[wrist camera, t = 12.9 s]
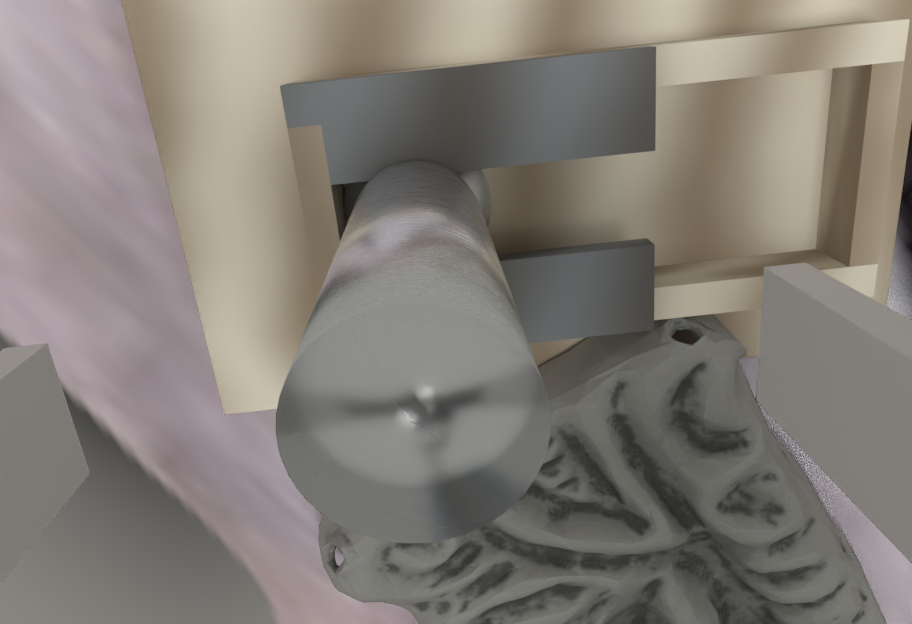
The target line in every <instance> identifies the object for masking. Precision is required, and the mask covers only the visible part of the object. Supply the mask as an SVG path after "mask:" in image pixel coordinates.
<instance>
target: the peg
mask: <svg viewBox="0 0 912 624" xmlns="http://www.w3.org/2000/svg"><path fill="white" fill-rule="evenodd" d="M344 214H345V219H346V224H347V225H346V228H345V230H344V233H343V236H342V238H341V241H340V243H339V246H338V248H337V251H336V253H335V256H334V258H333V261H332V263H331V266H330V268H329V271H328V273H327V276H326V278H325V281H324V284H323V286H322V289H321V291H320V294H319V296H318V299H317V301H316V304H315V306H314V309H313V311H312V314H311V316H310V319H309V321H308V324H307V326H306V329H305V331H304V334H303V337H302V339H301V342H300V344H299V347H298V349H297V352H296V354H295V357H294V359H293V362H292V364H291V367H290V369H289V372H288V374H287V377H286V379H285V382H284V385H283V388H282V391H281V394H280V397H279V401H278V407H277V412H276V435H277V443H278V448H279V452H280V455H281V458H282V462H283V464H284V466H285V468H286V470H287V473H288V475H289V477H290V478H291V480H292V481H293V483H294V484H295V486H296V488H297V489H298V490H299V491H300V493H301V494H302V495H303V496H304V497H305V499H306V500H307V501H308V502H309V503H310V504H311V505H313V506H314V507H315V508H316V509H317V510H318V511H319V512H320V513H322V514H323V515H325V516H326V517H327V518H329V519H330V520H332V521H333V522H335V523H337V524H339V525H341V526H342V527H344V528H346V529H348V530H351V531H353V532H356V533H358V534H361V535H363V536H367V537H370V538H374V539H378V540H383V541H389V542H395V543H429V542H436V541H442V540H447V539H451V538H455V537H458V536H462V535H464V534H467V533H469V532H472V531H475V530H477V529H479V528H481V527H483V526H485V525H486V524H488V523H490V522H492V521H493V520H495V519H496V518H498V517H499V516H501V515H502V514H504V513H505V512H506V511H507V510H508V509H509V508H511V507H512V506H513V505H514V504H515V503H516V502H517V501H518V500H519V499H520V498H521V497H522V496H523V494H524V493H525V492H526V491H527V490H528V488H529V487H530V485H531V484H532V482H533V481H534V480H535V478H536V476H537V474H538V472H539V470H540V468H541V466H542V464H543V461H544V458H545V455H546V452H547V449H548V444H549V439H550V430H551V415H550V407H549V401H548V397H547V394H546V390H545V387H544V384H543V381H542V378H541V375H540V373H539V370H538V367H537V364H536V361H535V359H534V356H533V353H532V350H531V347H530V345H529V342H528V339H527V336H526V333H525V331H524V328H523V325H522V322H521V319H520V317H519V314H518V311H517V308H516V305H515V303H514V300H513V297H512V294H511V292H510V289H509V286H508V283H507V280H506V278H505V275H504V272H503V269H502V266H501V264H500V261H499V258H498V255H497V252H496V250H495V247H494V244H493V241H492V238H491V236H490V233H489V230H488V225H489V221H490V215H491V197H490V190H489V187H488V183H487V180H486V178H485V176H484V173H483V171H482V169H478V170H469V171H459V172H453V171H452V170H450V169H448V168H446V167H444V166H441V165H439V164H436V163H431V162H426V161H408V162H402V163H398V164H395V165H392V166H390V167H388V168H386V169H384V170H382V171H381V172H379V173H378V174H376V175H375V176H374V177H373V178H372V179H371V180H370V181H365V182H356V183H347V185H346V189H345V195H344Z"/></svg>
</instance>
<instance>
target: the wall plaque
mask: <svg viewBox="0 0 912 624" xmlns="http://www.w3.org/2000/svg"><path fill="white" fill-rule="evenodd" d="M689 329H690V330H691V332H692V333H693V334H694V335H695V336H696V338H697V339H698V340H697V341H696V342H694V343H693V344H692V345H691V344H686V343H681V342H679V341H677V340H675V339H673V338H671V337H672V336H673V334H674V333H675V332H678V331H684V330H689ZM746 354H747V349H746V348H745V347H744V346H743V345H742V344H741V343H740V342H739V341H738V340H737V339H736V338H735V337H734V336H733V335H732V334H731V333H730V332H729V331H728V330H727V329H726V328H725V327H724V326H723V325H722V324H721V323H720V321H719V320H718V319H717V317H716V316H715V315H714V314H708V315H699V316H689V317H680V318H671V319H662V320H654V330H649V331H640V332H631V333H621V334H612V335H603V336H594V337H589V338H587V339H585V340H584V341H582V342H580V343H579V344H577V345H576V346H574V347H573V348H571V349H570V350H569V351H567V352H565V353H564V354H562V355H560V356H558V357H556V358H554V359H553V360H551V361H549V362H547V363H545V364H543V365H542V366H540V367H539V368H538V370H539V373H540V375H541V378H542V381H543V384H544V387H545V390H546V394H547V397H548V401H549V407H550V415H551V430H550V439H549V444H548V449H547V452H546V455H545V458H544V461H543V464H542V466H541V468H540V470H539V472H538V474H537V476H536V478H535V480H534V481H533V482H532V484H531V485H530V487H529V488H528V490H527V491H526V492H525V493H524V494H523V496H522V497H521V498H520V499H519V500H518V501H517V502H516V503H515V504H514V505H513V506H512V507H511V508H509V509H508V510H507V511H506V512H505V513H504V514H502V515H501V516H499V517H498V518H496V519H495V520H493V521H492V522H490V523H488V524H486V525H485V526H483V527H481V528H479V529H477V530H475V531H472V532H469V533H467V534H464V535H462V536H458V537H455V538H451V539H447V540H442V541H436V542H429V543H395V542H389V541H383V540H378V539H374V538H370V537H367V536H363V535H361V534H358V533H356V532H353V531H351V530H348V529H346V528H344V527H342V526H341V525H339V524H337V523H335V522H333V521H332V520H330V519H329V518H327V517H326V516H325V515H324V516H323V518H322V521H321V523H320V526H319V545H320V551H321V556H322V561H323V565H324V568H325V570H326V572H327V574H328V576H329V577H330V579H331V581H332V583H333V585H334V586H335V588H336V589H337V590H338V591H340V592H342V593H344V594H346V595H348V596H350V597H352V598H354V599H356V600H359V601H362V602H384V603H389V604H394V605H399V606H401V607H403V608H405V609H407V610H409V611H410V612H411V613H412V614H413V615H414V617H415V618H416V620H417V621H418V623H419V624H886V621H885V618H884V616H883V614H882V612H881V610H880V608H879V605H878V603H877V601H876V599H875V597H874V595H873V592H872V590H871V588H870V586H869V584H868V582H867V579H866V577H865V575H864V572H863V570H862V567H861V565H860V562H859V560H858V558H857V556H856V555H855V553H854V551H853V549H852V548H851V546H850V544H849V543H848V541H847V539H846V537H845V535H844V533H843V531H841V530H839V529H837V528H836V527H835V526H834V524H833V523H832V521H831V519H830V517H829V515H828V513H827V512H826V510H825V508H824V506H823V504H822V502H821V500H820V498H819V496H818V495H817V493H816V491H815V489H814V487H813V485H812V484H811V482H810V480H809V479H808V477H807V476H806V474H805V473H804V471H803V470H802V468H801V467H800V465H799V464H798V463H797V461H796V460H795V458H794V457H793V455H792V454H791V453H790V452H789V451H788V450H786V449H785V448H784V447H783V446H782V445H781V444H780V443H779V442H778V441H777V439H776V438H775V436H774V435H773V433H772V432H770V429H769V427H768V425H767V423H766V420H765V418H764V416H763V414H762V411H761V409H760V407H759V405H758V403H757V401H756V399H755V397H754V395H753V393H752V391H751V388H750V386H749V384H748V381H747V379H746V376H745V374H744V371H743V370H742V368H741V366H740V365H739V363H738V359H739V358H740V357H743V356H746ZM336 546H338V547H339V548H340V549H341V551H342V553H343V556H344V558H345V560H344V561H343V563H342V564H341V566H337V565H336V561H335V549H336Z"/></svg>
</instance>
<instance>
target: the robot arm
mask: <svg viewBox="0 0 912 624" xmlns="http://www.w3.org/2000/svg"><path fill="white" fill-rule="evenodd" d="M756 401H757V402H758V403H759V404H760V405H761V406H762V408H763V409H764V410H765V411H766V412H767V413H768V414H769V415H770V416H771V417H772V418H773V419H774V420H775V421H776V422H777V423H778V424H779V425H780V426H781V427H782V428H783V429H784V430H785V432H786V433H787V434H788V435H789V436H790V437H791V438H792V439H793V440H794V441H795V442H796V443H797V444H798V445H799V446H800V447H801V448H802V449H803V450H804V451H805V452H806V453H807V455H808V456H809V457H810V458H811V459H812V460H813V461H814V462H815V463H816V464H817V465H818V466H819V467H820V468H821V469H822V470H823V471H824V472H825V473H826V474H827V475H828V476H829V477H830V479H831V480H832V481H833V482H834V483H835V484H836V485H837V486H838V487H839V488H840V489H841V490H842V491H843V492H844V493H845V494H846V495H847V496H848V497H849V498H850V499H851V500H852V502H853V503H854V504H855V505H856V506H857V507H858V508H859V509H860V510H861V511H862V512H863V513H864V514H865V515H866V516H867V517H868V518H869V519H870V520H871V521H872V522H873V523H874V524H875V526H876V527H877V528H878V529H879V530H880V531H881V532H882V533H883V534H884V535H885V536H886V537H887V538H888V539H889V540H890V541H891V542H892V543H893V544H894V545H895V546H896V547H897V549H898V550H899V551H900V552H901V553H902V554H903V555H904V556H905V557H906V558H907V559H908V560H909V561H910V562H911V563H912V321H911V320H910V319H908V318H906V317H904V316H902V315H900V314H899V313H897V312H895V311H893V310H891V309H889V308H888V307H886V306H884V305H882V304H880V303H878V302H877V301H875V300H873V299H871V298H869V297H868V296H866V295H864V294H862V293H860V292H858V291H857V290H855V289H853V288H851V287H849V286H847V285H846V284H844V283H842V282H840V281H838V280H836V279H835V278H833V277H831V276H829V275H827V274H826V273H824V272H822V271H820V270H818V269H816V268H815V267H813V266H811V265H809V264H807V263H797V264H787V265H778V266H769V267H764V276H763V293H762V310H761V327H760V344H759V361H758V378H757V395H756ZM88 475H89V469H88V466H87V463H86V460H85V457H84V454H83V451H82V448H81V445H80V442H79V439H78V436H77V433H76V429H75V426H74V423H73V420H72V417H71V414H70V411H69V408H68V405H67V402H66V399H65V396H64V393H63V390H62V387H61V384H60V381H59V378H58V375H57V372H56V369H55V365H54V362H53V359H52V356H51V353H50V350H49V347H48V344H39V345H30V346H20V347H11V348H5V349H3V350H2V351H0V585H1V584H2V583H3V582H4V580H5V579H6V578H7V577H8V575H9V574H10V573H11V572H12V570H13V569H14V568H15V566H16V565H17V564H18V563H19V561H20V560H21V559H22V558H23V556H24V555H25V554H26V552H27V551H28V550H29V549H30V548H31V546H32V545H33V544H34V542H35V541H36V540H37V539H38V538H39V536H40V535H41V534H42V532H43V531H44V530H45V529H46V527H47V526H48V525H49V524H50V522H51V521H52V520H53V519H54V517H55V516H56V515H57V514H58V512H59V511H60V510H61V509H62V507H63V506H64V504H66V502H67V501H68V500H69V498H70V497H71V496H72V495H73V494H74V492H75V491H76V490H77V488H78V487H79V486H80V485H81V483H82V482H83V481H84V480H85V478H86V477H87V476H88Z"/></svg>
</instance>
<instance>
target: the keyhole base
mask: <svg viewBox="0 0 912 624" xmlns="http://www.w3.org/2000/svg"><path fill="white" fill-rule="evenodd" d="M121 1H122V5H123V9H124V13H125V17H126V21H127V25H128V29H129V33H130V37H131V41H132V45H133V49H134V53H135V57H136V61H137V65H138V69H139V73H140V77H141V81H142V85H143V89H144V93H145V97H146V101H147V105H148V109H149V114H150V118H151V122H152V126H153V130H154V134H155V138H156V142H157V146H158V150H159V154H160V158H161V162H162V166H163V170H164V174H165V178H166V182H167V186H168V190H169V194H170V198H171V202H172V206H173V210H174V214H175V218H176V222H177V226H178V230H179V234H180V238H181V242H182V246H183V250H184V254H185V258H186V262H187V266H188V270H189V274H190V278H191V282H192V286H193V290H194V294H195V298H196V302H197V306H198V310H199V314H200V318H201V322H202V326H203V330H204V334H205V338H206V342H207V346H208V350H209V355H210V359H211V363H212V367H213V371H214V375H215V379H216V383H217V387H218V391H219V395H220V399H221V403H222V407H223V411H224V415H225V414H234V413H243V412H252V411H262V410H271V409H277V407H278V401H279V397H280V394H281V391H282V388H283V385H284V382H285V379H286V377H287V374H288V372H289V369H290V367H291V364H292V362H293V359H294V357H295V354H296V352H297V349H298V347H299V344H300V342H301V339H302V337H303V334H304V331H305V329H306V326H307V324H308V321H309V319H310V316H311V314H312V311H313V309H314V306H315V304H316V301H317V299H318V296H319V294H320V291H321V289H322V286H323V284H324V281H325V278H326V276H327V273H328V271H329V268H330V266H331V263H332V261H333V258H334V256H335V253H336V251H337V248H338V246H339V243H340V241H341V238H342V236H343V233H344V230H345V228H346V225H347V224H346V219H345V214H344V195H345V189H346V185H347V183H356V182H365V181H370V180H371V179H372V178H373V177H374V176H375V175H376V174H378V173H379V172H381V171H382V170H384V169H386V168H388V167H390V166H392V165H395V164H398V163H402V162H408V161H426V162H431V163H436V164H439V165H441V166H444V167H446V168H448V169H450V170H452V171H453V172H459V171H469V170H478V169H482V171H483V173H484V176H485V178H486V180H487V183H488V187H489V190H490V197H491V215H490V221H489V225H488V230H489V233H490V236H491V238H492V241H493V244H494V247H495V250H496V252H497V255H498V258H499V261H500V264H501V266H502V269H503V272H504V275H505V278H506V280H507V283H508V286H509V289H510V292H511V294H512V297H513V300H514V303H515V305H516V308H517V311H518V314H519V317H520V319H521V322H522V325H523V328H524V331H525V333H526V336H527V339H528V342H529V345H530V347H531V350H532V353H533V356H534V359H535V361H536V364H537V367H538V368H539V367H540V366H542V365H543V364H545V363H547V362H549V361H551V360H553V359H554V358H556V357H558V356H560V355H562V354H564V353H565V352H567V351H569V350H570V349H571V348H573V347H574V346H576V345H577V344H579V343H580V342H582V341H584V340H585V339H587V338H589V337H594V336H603V335H612V334H621V333H631V332H640V331H649V330H654V320H662V319H671V318H680V317H689V316H699V315H708V314H714V315H715V316H716V317H717V319H718V320H719V321H720V323H721V324H722V325H723V326H724V327H725V328H726V329H727V330H728V331H729V332H730V333H731V334H732V335H733V336H734V337H735V338H736V339H737V340H738V341H739V342H740V343H741V344H742V345H743V346H744V347H745V348H746V349H747V354H746V356H743V357H740V358H748V357H757V356H759V344H760V327H761V310H762V293H763V276H764V267H769V266H778V265H787V264H797V263H807V264H809V265H811V266H813V267H815V268H816V269H818V270H820V271H822V272H824V273H826V274H827V275H829V276H831V277H833V278H835V279H836V280H838V281H840V282H842V283H844V284H846V285H847V286H849V287H851V288H853V289H855V290H857V291H858V292H860V293H862V294H864V295H866V296H868V297H869V298H871V299H873V300H875V301H877V302H878V303H880V304H882V305H884V306H886V304H887V296H888V289H889V282H890V274H891V267H892V260H893V253H894V245H895V238H896V231H897V224H898V216H899V209H900V202H901V194H902V187H903V180H904V173H905V165H906V158H907V151H908V144H909V136H910V129H911V122H912V0H121ZM671 338H673V339H675V340H677V341H679V342H681V343H686V344H691V345H692V344H693V343H694V342H696V341H697V340H698V339H697V338H696V336H695V335H694V334H693V333H692V332H691V330H690V329H689V330H684V331H678V332H675V333H674V334H673V336H672V337H671Z"/></svg>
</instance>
